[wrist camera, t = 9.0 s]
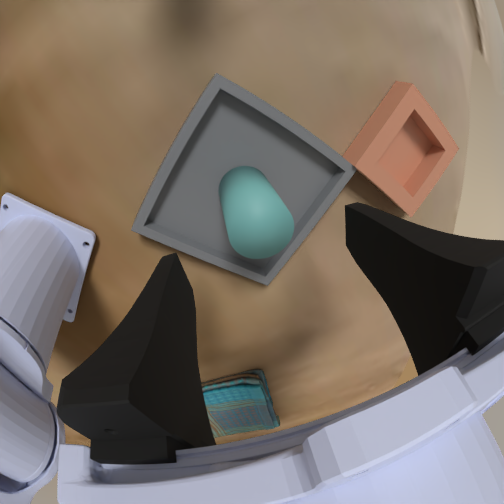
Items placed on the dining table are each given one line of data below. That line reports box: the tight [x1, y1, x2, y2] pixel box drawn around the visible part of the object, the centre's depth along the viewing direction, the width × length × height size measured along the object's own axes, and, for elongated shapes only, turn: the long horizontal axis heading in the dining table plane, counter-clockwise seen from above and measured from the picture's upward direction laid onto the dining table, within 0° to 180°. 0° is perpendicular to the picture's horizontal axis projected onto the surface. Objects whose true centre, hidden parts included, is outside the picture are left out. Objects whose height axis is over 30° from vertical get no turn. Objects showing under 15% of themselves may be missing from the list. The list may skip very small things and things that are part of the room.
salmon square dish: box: [342, 81, 459, 217], centre depth 17 cm, size 7×7×2 cm
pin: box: [218, 166, 294, 259], centre depth 15 cm, size 3×3×5 cm
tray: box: [131, 73, 357, 286], centre depth 17 cm, size 10×10×2 cm
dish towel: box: [201, 369, 280, 438], centre depth 33 cm, size 17×23×2 cm
